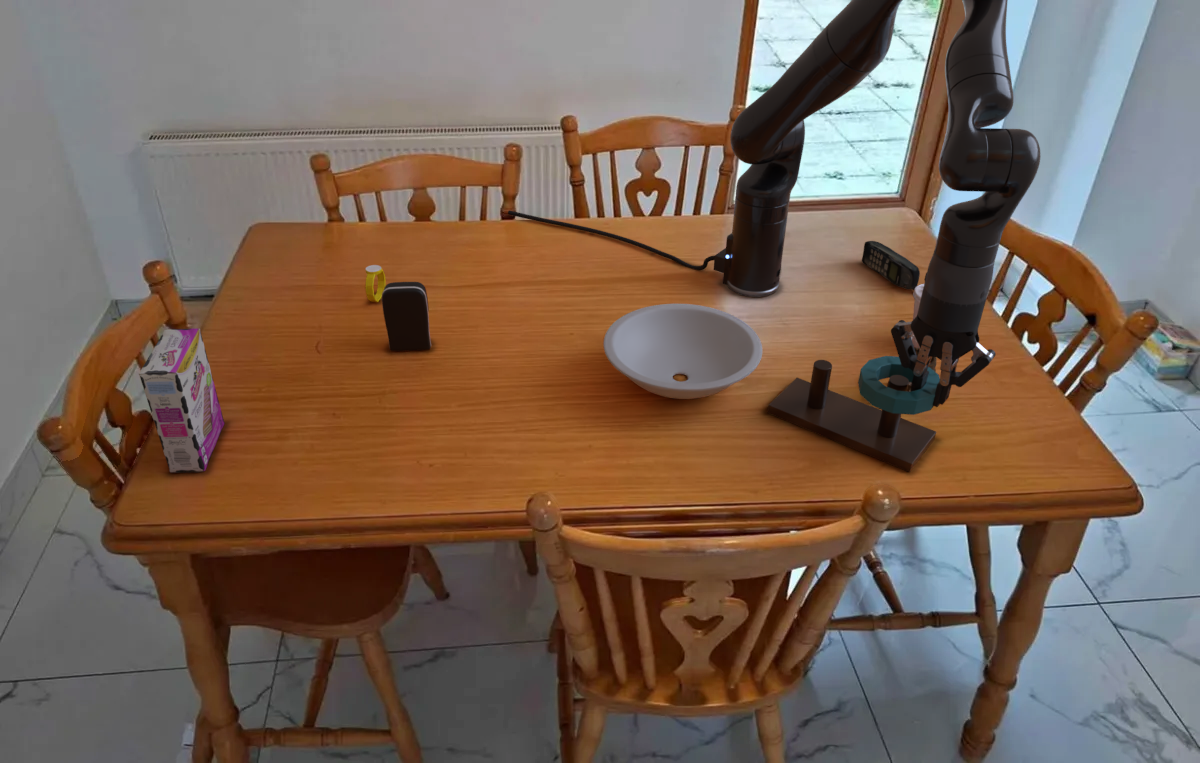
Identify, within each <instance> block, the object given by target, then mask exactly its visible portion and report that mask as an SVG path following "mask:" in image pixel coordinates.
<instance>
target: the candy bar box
mask: <svg viewBox="0 0 1200 763" xmlns="http://www.w3.org/2000/svg"><path fill="white" fill-rule="evenodd" d="M138 375H139V378H140V381H141V385H142V388H143V391H144V394H145V397H146V400H147V405H148V407H149V410H150V413H151V416H152V420H153V422H154V425H155V429H156V432H157V436H158V438H159V442H160V444H161V448H162V451H163V455H164V457H165V461H166V465H167V467H168V470H169V473H170V474H180V473H181V474H182V473H204V472H205V471H206V470H207V467H208V464H209V462H210V459H211V457H212V455H213V452H214V450H215V447H216V446H217V442H218V440H219V437H220V435H221V433H222V430H223V428H224V426H225V419H224V416H223V412H222V408H221V403H220V401H219V397H218V394H217V390H216V385H215V382H214V377H213V375H212V370H211V366H210V362H209V359H208V355H207V351H206V347H205V343H204V339H203V335H202V331H201V328H195V327H194V328H169V329H166V328H165V329H164V330H163V332H162V333H161V336H160V337H159V339H158V341H157V342H156V344H155V345H154V347H153V349H152V351H151V353H150V354H149V356H148V357H147V359H146V360H145V363H144V364H143V366H142V367H141V369H140V371H139V372H138Z"/></svg>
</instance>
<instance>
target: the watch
mask: <svg viewBox="0 0 1200 763" xmlns="http://www.w3.org/2000/svg"><path fill="white" fill-rule="evenodd" d="M364 269H365V274H366V278H365V288H364V289H365V295H366V299H367V300H368V301H369V302H370V303H379V301H381V300H382V293H383V291H384V288H385V286H386V285H387V283H386V281H387V280H386V279H387V278H386V273H385V272H384V270H383V267H382V266H381V265H378V264H372V265H371V264H370V265H368V266H366V267H365V268H364ZM375 277H377V288H376V293H375V289H374V287H375V286H374V285H375V279H376V278H375Z"/></svg>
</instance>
